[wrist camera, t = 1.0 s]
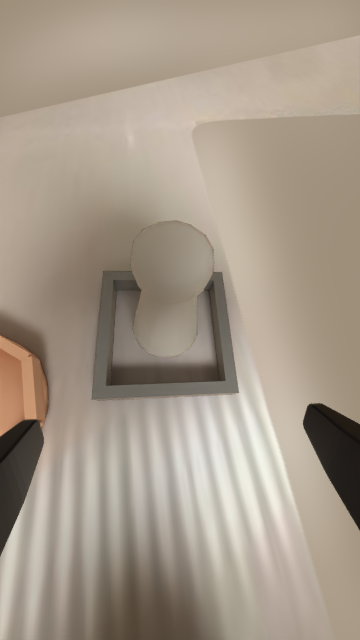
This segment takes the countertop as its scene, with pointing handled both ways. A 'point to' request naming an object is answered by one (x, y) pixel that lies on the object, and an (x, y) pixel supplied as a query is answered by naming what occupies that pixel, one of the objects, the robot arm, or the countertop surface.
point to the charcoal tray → (142, 391)
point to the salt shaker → (169, 285)
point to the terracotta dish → (20, 386)
